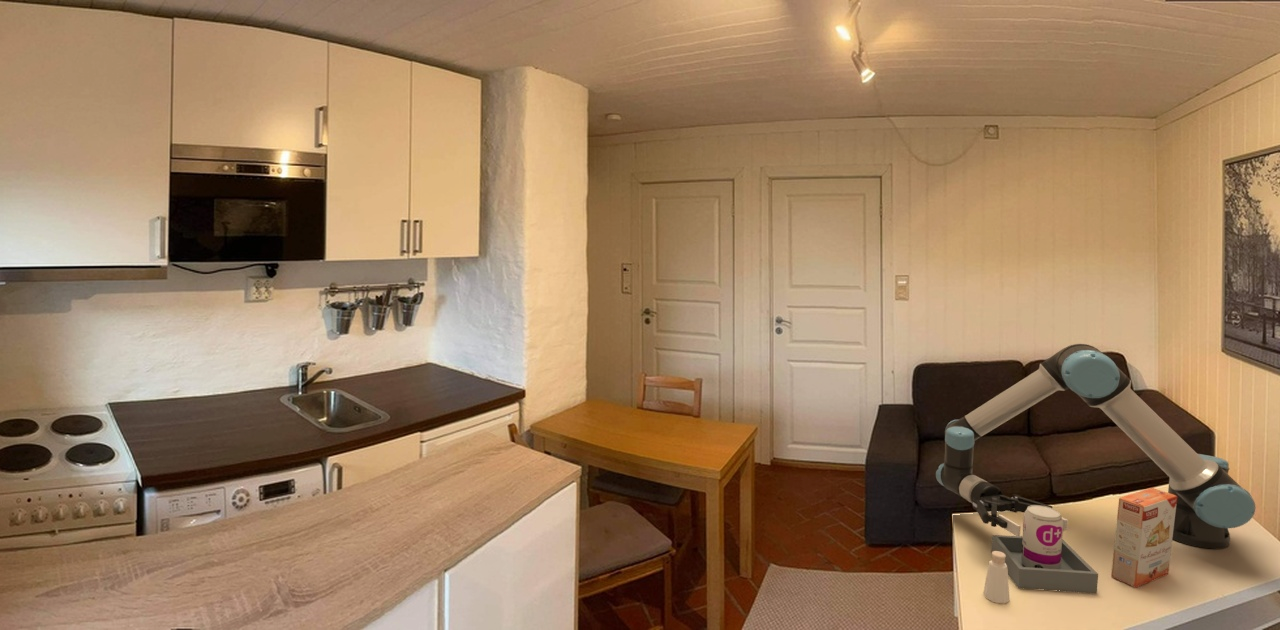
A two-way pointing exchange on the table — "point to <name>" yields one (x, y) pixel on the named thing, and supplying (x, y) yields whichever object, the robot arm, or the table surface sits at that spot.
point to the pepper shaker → (997, 579)
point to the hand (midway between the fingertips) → (1042, 528)
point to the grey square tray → (1067, 578)
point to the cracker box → (1143, 536)
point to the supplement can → (1042, 537)
